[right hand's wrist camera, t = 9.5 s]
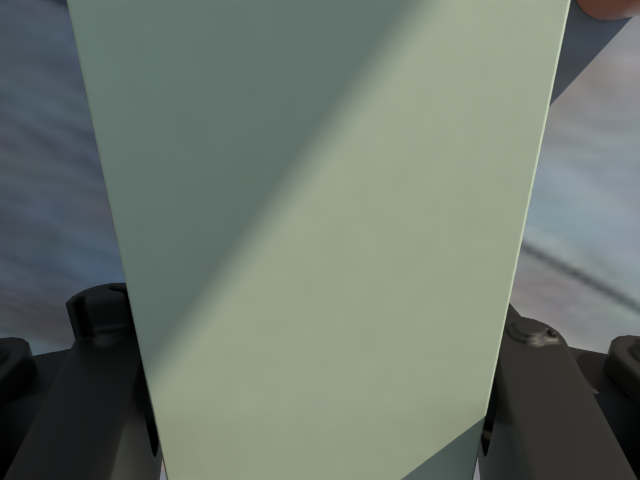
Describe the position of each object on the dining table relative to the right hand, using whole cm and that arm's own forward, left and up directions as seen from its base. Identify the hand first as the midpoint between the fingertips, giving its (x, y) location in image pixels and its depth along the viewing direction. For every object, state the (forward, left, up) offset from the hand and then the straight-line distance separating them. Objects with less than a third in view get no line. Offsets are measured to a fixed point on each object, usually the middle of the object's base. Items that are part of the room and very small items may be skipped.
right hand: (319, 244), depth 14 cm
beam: (+9, 0, 0) cm, 9 cm away
